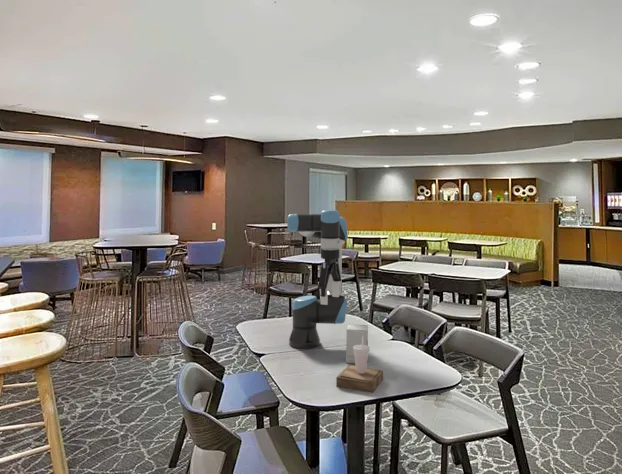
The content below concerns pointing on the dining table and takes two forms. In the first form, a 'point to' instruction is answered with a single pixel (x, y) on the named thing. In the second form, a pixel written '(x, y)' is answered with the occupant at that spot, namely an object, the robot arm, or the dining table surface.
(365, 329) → the supplement box
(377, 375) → the walnut tray
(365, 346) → the smoothie
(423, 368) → the dining table surface
